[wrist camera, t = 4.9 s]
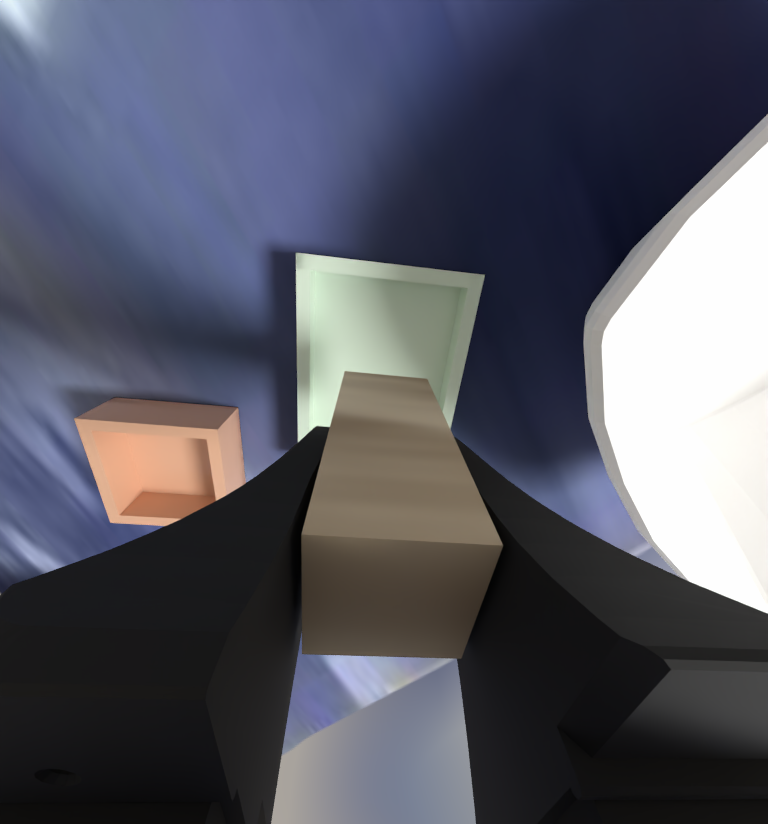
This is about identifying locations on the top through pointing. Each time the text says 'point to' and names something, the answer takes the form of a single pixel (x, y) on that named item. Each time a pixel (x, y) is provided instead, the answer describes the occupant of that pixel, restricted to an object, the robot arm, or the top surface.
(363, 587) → the beech pin
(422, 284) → the tray
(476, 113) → the top surface
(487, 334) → the top surface
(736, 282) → the bowl
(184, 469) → the orange open box
